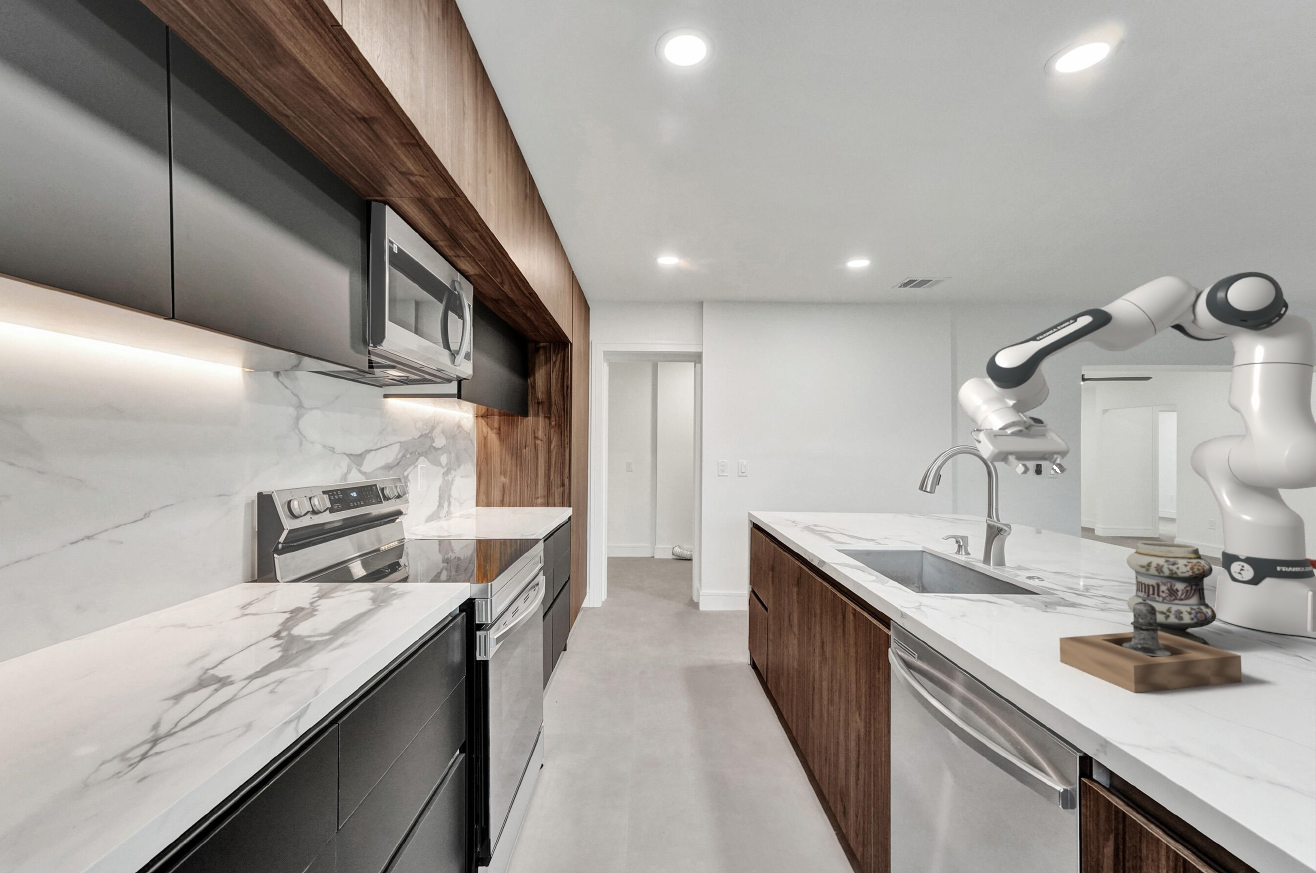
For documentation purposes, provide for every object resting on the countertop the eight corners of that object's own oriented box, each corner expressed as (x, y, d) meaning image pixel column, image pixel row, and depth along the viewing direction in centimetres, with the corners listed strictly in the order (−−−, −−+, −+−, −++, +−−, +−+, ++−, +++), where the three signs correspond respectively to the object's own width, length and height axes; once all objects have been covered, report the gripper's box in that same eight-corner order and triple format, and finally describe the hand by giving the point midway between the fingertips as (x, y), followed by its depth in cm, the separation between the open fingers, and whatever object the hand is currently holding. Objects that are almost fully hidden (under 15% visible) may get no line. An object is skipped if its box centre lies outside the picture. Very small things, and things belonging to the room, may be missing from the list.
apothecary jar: (1178, 629, 106) (1174, 539, 106) (1237, 652, 94) (1233, 550, 94) (1112, 628, 107) (1109, 538, 107) (1163, 650, 95) (1159, 549, 95)
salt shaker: (1151, 664, 89) (1148, 592, 89) (1182, 679, 83) (1179, 602, 83) (1113, 663, 89) (1111, 591, 90) (1141, 678, 83) (1139, 601, 84)
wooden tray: (1156, 652, 94) (1155, 630, 94) (1242, 681, 82) (1240, 655, 82) (1060, 661, 90) (1059, 637, 90) (1134, 692, 78) (1133, 665, 79)
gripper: (974, 419, 122) (1010, 462, 112) (1050, 419, 125) (1092, 461, 115) (960, 439, 126) (994, 482, 116) (1034, 438, 129) (1073, 480, 119)
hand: (1043, 471), depth 116 cm, fingers open, 8 cm apart
